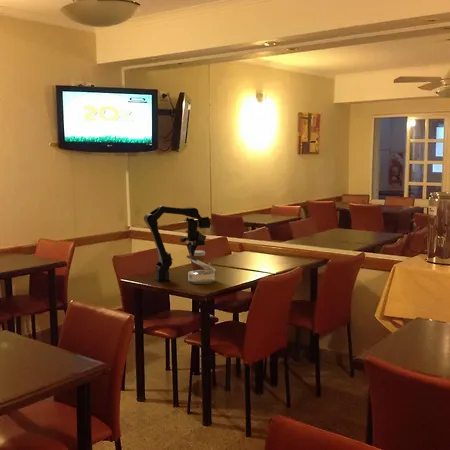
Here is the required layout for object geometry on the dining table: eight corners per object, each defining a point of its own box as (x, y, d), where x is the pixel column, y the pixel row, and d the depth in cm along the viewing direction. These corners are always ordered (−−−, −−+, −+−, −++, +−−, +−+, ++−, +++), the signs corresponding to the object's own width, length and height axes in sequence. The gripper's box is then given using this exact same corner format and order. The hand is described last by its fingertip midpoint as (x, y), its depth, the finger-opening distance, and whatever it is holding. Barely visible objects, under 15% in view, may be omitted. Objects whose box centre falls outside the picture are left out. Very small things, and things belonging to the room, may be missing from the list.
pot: (196, 285, 318) (196, 276, 318) (182, 280, 331) (182, 271, 331) (220, 282, 327) (220, 273, 326) (205, 277, 340) (205, 269, 339)
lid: (195, 259, 317) (197, 254, 317) (182, 255, 329) (184, 251, 329) (219, 273, 326) (222, 268, 327) (205, 268, 339) (207, 264, 339)
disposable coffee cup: (187, 271, 358) (187, 251, 357) (195, 268, 367) (195, 249, 365) (200, 272, 354) (200, 253, 352) (208, 269, 362) (208, 250, 361)
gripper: (212, 229, 332) (212, 256, 334) (196, 226, 347) (196, 252, 349) (196, 231, 326) (196, 258, 327) (179, 227, 341) (179, 254, 343)
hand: (192, 255), depth 337 cm, fingers closed
